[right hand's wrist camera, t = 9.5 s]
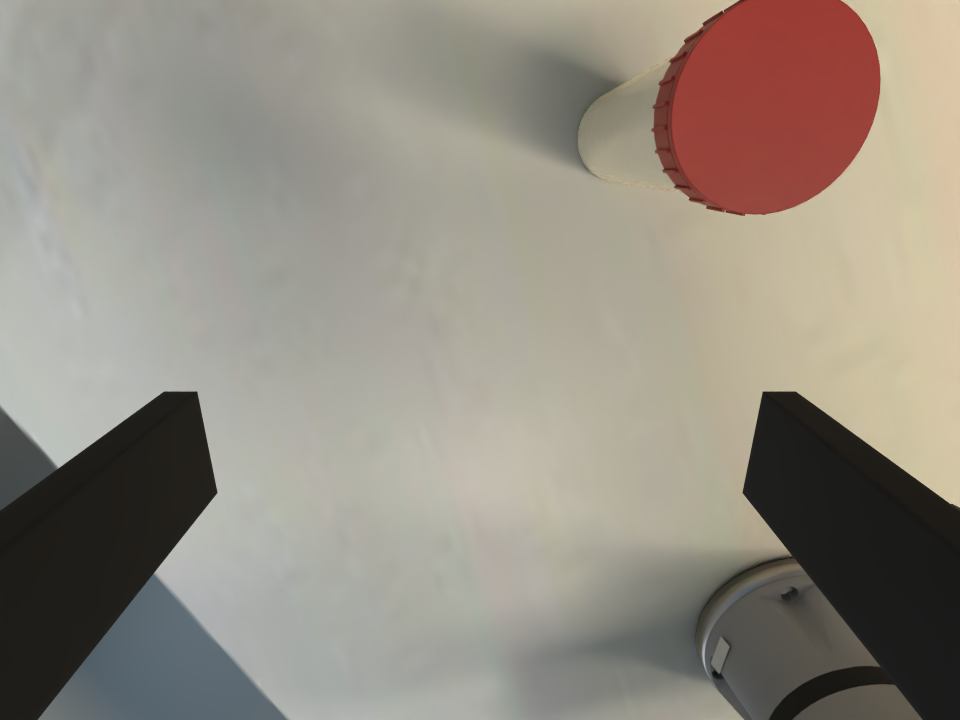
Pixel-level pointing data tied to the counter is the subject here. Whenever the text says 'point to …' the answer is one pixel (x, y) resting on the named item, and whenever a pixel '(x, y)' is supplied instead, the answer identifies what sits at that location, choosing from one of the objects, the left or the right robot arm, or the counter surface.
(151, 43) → the counter surface
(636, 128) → the jar
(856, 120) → the lid
